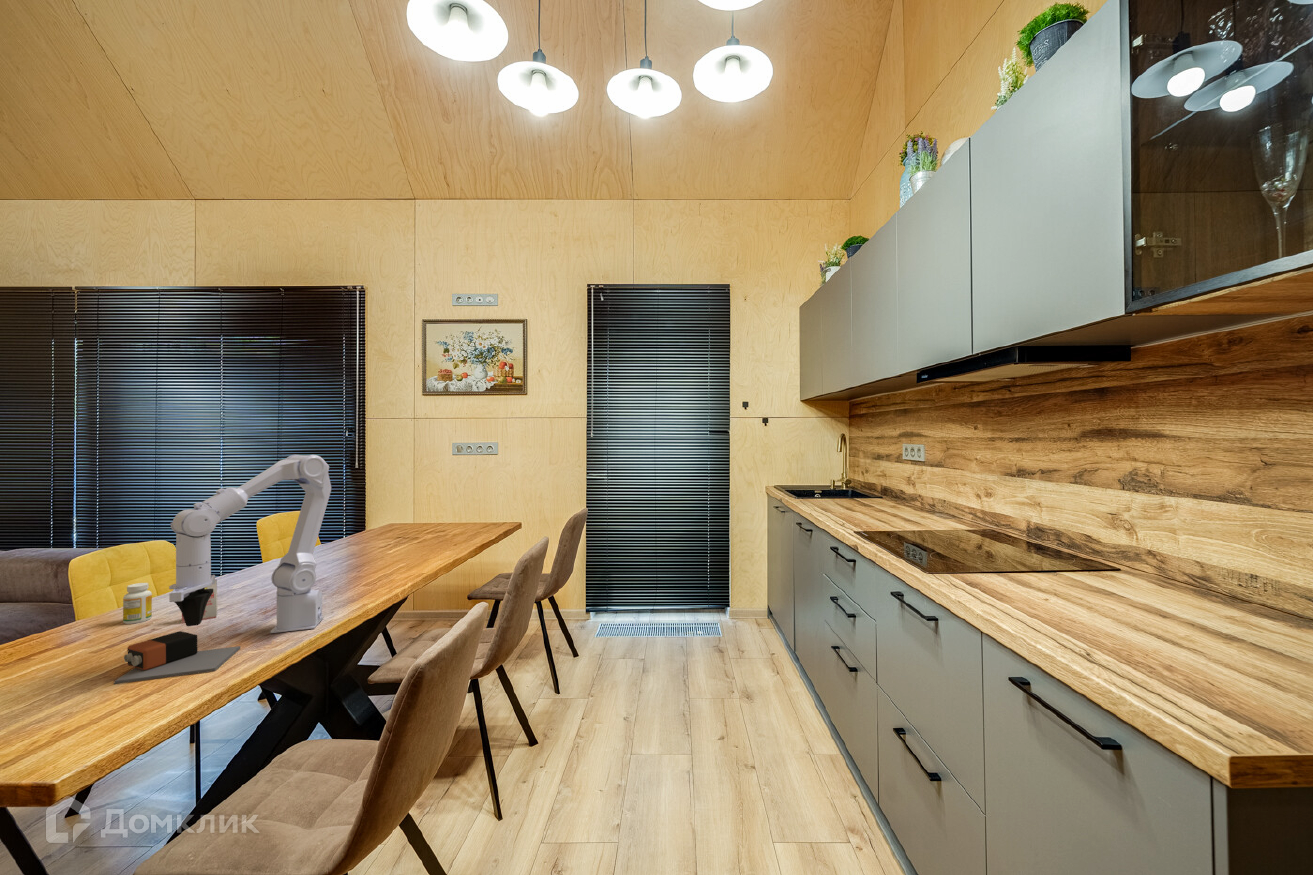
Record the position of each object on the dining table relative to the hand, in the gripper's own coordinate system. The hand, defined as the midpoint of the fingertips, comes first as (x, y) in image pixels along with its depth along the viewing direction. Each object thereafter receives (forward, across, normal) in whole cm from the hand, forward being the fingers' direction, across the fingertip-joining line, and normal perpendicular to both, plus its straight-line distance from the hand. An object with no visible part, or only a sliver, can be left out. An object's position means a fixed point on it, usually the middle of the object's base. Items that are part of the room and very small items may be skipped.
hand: (193, 624), depth 112 cm
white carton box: (+7, -29, -11) cm, 32 cm away
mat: (+7, +5, 0) cm, 8 cm away
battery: (+4, -2, -1) cm, 5 cm away
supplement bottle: (+7, -33, -26) cm, 43 cm away
